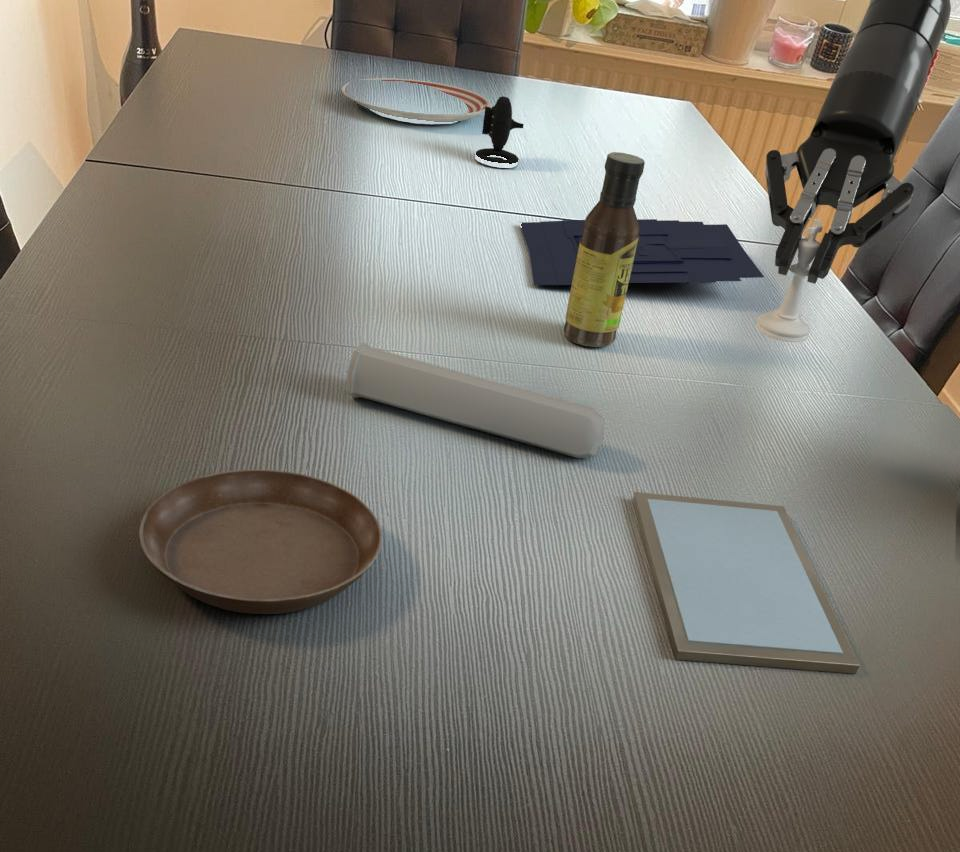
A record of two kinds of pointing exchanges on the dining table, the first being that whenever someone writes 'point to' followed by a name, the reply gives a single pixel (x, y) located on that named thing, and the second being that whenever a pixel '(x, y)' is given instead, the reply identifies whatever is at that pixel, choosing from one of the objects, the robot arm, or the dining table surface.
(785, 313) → the chess piece
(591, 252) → the sauce bottle
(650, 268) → the papers
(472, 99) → the dinner plate
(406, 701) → the dining table surface
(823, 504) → the dining table surface
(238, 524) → the plant saucer
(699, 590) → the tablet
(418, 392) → the tube
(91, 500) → the dining table surface
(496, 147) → the webcam
